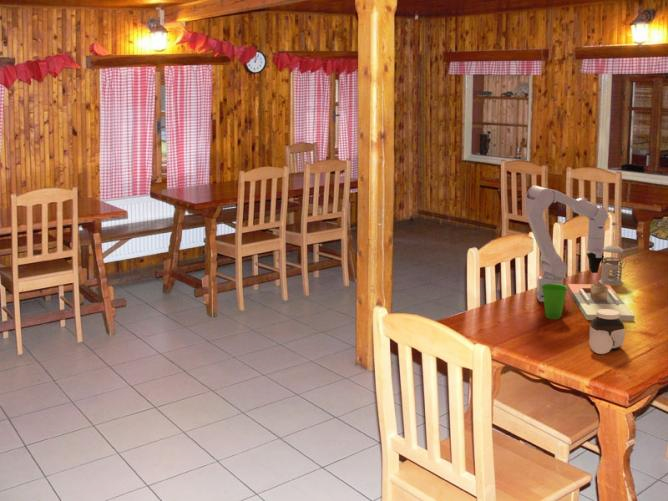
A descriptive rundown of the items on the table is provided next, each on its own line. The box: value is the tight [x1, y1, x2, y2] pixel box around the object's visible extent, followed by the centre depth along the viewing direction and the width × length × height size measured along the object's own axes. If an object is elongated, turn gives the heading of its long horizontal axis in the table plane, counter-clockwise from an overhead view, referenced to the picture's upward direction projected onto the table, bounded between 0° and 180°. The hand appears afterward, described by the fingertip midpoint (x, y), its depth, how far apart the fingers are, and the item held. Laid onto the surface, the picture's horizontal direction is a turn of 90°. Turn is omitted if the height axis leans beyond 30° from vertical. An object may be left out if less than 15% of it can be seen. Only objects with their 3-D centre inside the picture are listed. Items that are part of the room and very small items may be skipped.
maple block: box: [591, 283, 608, 301], centre depth 309 cm, size 5×5×5 cm
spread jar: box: [588, 309, 626, 355], centre depth 259 cm, size 12×11×12 cm
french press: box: [598, 221, 627, 286], centre depth 338 cm, size 10×12×25 cm
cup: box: [541, 284, 568, 320], centre depth 293 cm, size 9×9×11 cm
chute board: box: [566, 283, 636, 322], centre depth 310 cm, size 16×42×4 cm, turn 174°
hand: (594, 272), depth 319 cm, fingers closed
